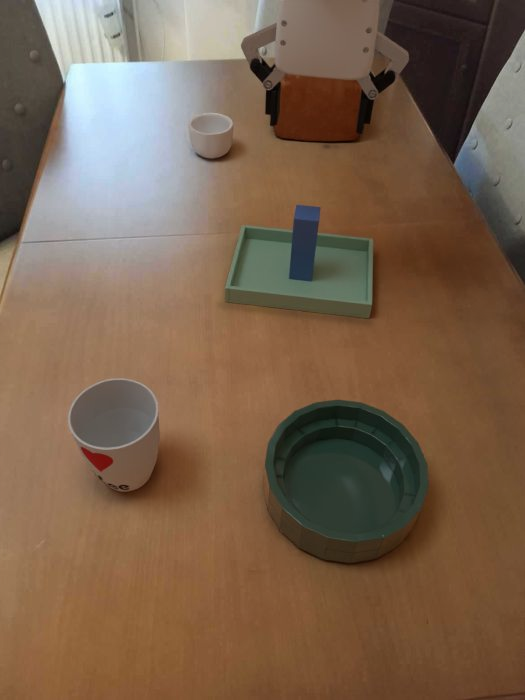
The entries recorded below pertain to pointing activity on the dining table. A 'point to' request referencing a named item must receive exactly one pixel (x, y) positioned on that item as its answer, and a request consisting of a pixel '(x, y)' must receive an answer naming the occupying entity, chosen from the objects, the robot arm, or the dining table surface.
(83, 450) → the cup
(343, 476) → the green bowl
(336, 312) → the tray
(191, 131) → the teacup
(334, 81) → the bread
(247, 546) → the dining table surface
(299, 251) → the block
